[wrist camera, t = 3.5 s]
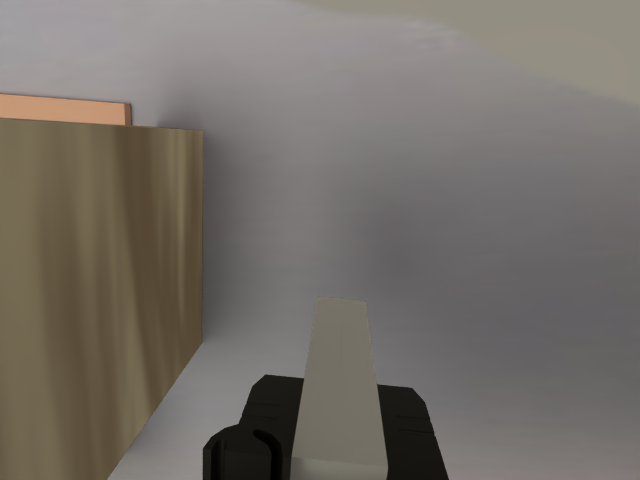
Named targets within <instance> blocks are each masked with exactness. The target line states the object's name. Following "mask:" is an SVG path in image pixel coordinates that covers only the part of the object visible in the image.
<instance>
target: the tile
mask: <svg viewBox="0 0 640 480" xmlns="http://www.w3.org/2000/svg"><path fill="white" fill-rule="evenodd" d="M202 254H203V131H198V130H186V129H173V128H161V127H146V126H130V125H114V124H98V123H82V122H65V121H49V120H33V119H17V118H1V117H0V480H107V479H108V477H109V476H110V474H111V473H112V471H113V470H114V469H115V467H116V466H117V464H118V463H119V461H120V460H121V459H122V457H123V456H124V454H125V453H126V451H127V450H128V448H129V447H130V446H131V444H132V443H133V441H134V440H135V438H136V437H137V436H138V434H139V433H140V431H141V430H142V428H143V427H144V425H145V424H146V423H147V421H148V420H149V418H150V417H151V415H152V414H153V413H154V411H155V410H156V408H157V407H158V405H159V404H160V402H161V401H162V400H163V398H164V397H165V395H166V394H167V392H168V391H169V390H170V388H171V387H172V385H173V384H174V382H175V381H176V379H177V378H178V377H179V375H180V374H181V372H182V371H183V369H184V368H185V367H186V365H187V364H188V362H189V361H190V359H191V358H192V356H193V355H194V354H195V352H196V351H197V349H198V348H199V346H200V345H201V344H202Z"/></svg>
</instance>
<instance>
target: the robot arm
mask: <svg viewBox="0 0 640 480" xmlns="http://www.w3.org/2000/svg"><path fill="white" fill-rule="evenodd" d="M203 480H449V478H448V475H447V472H446V469H445V465H444V462H443V459H442V456H441V452H440V449H439V446H438V443H437V440H436V436H434V430H433V427H432V423H431V422H430V417H429V414H428V410H427V407H426V404H425V402H424V401H423V400H422V399H421V397H420V396H419V395H418V394H417V393H416V392H415V391H414V390H413V388H408V387H398V386H388V385H378V384H377V381H376V374H375V367H374V359H373V352H372V345H371V337H370V330H369V323H368V315H367V308H366V301H356V300H345V299H335V298H324V297H317V303H316V309H315V316H314V322H313V328H312V334H311V340H310V346H309V352H308V359H307V365H306V371H305V377H304V378H295V377H285V376H275V375H264V376H263V377H262V378H261V379H260V380H259V381H258V382H257V383H255V384H254V385H253V386H252V389H251V391H250V394H249V397H248V400H247V404H246V405H245V408H244V410H243V413H242V418H241V419H240V421H239V424H237V425H234V426H230V427H227V428H224V429H223V430H221V431H220V432H218V433H217V434H215V435H214V436H212V437H211V438H210V440H209V441H208V442H207V444H206V445H205V446H204V448H203Z"/></svg>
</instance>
